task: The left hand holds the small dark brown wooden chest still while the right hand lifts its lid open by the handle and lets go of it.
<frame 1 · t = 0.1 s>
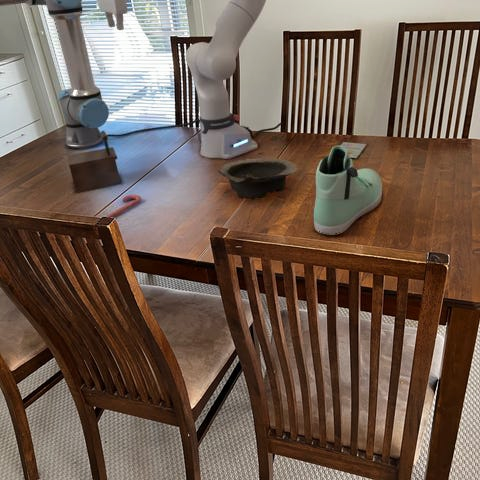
right hand: (116, 28, 149), 48 cm above the table, tool pointing down, fingers open, 8 cm apart
lid: (89, 147, 161), point 13 cm above the table, hinge at 0.0°
sneaker: (348, 208, 139), on the table
candy cane: (122, 209, 149), on the table
chest: (97, 182, 168), on the table
baking ingredient package: (349, 150, 177), on the table
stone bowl: (258, 188, 155), on the table
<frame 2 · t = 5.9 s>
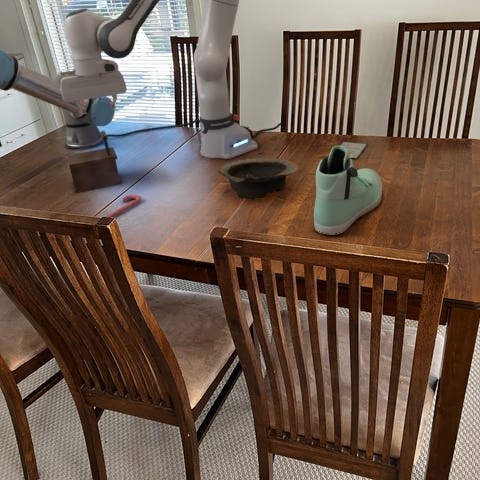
right hand: (98, 111, 156), 24 cm above the table, tool pointing down, fingers open, 8 cm apart
nothing on the table moved.
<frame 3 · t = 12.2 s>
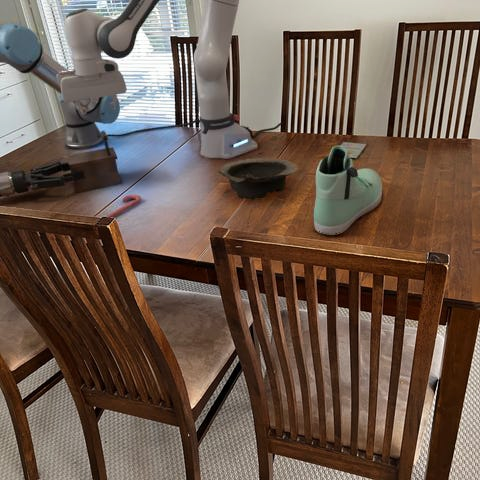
left hand: (82, 169, 164), 6 cm above the table, tool horizontal, fingers closed on chest, 9 cm apart
right hand: (98, 111, 156), 24 cm above the table, tool pointing down, fingers open, 8 cm apart
chest: (97, 183, 168), on the table, touching left hand
everything else where it was.
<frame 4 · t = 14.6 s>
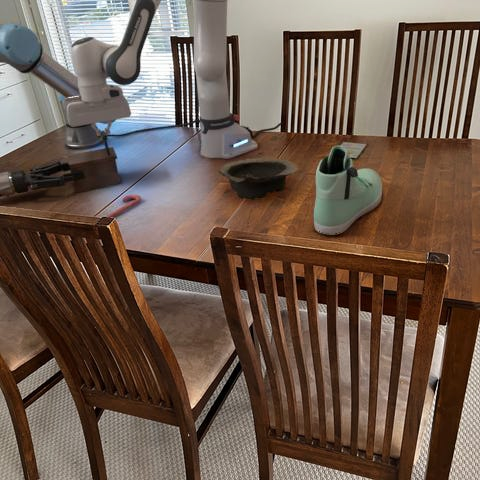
left hand: (82, 169, 164), 6 cm above the table, tool horizontal, fingers closed on chest, 9 cm apart
right hand: (103, 134, 161), 16 cm above the table, tool pointing down, fingers closed on lid
lid: (89, 147, 161), point 13 cm above the table, hinge at 0.3°, touching right hand
chest: (97, 183, 168), on the table, touching left hand
everything else where it was.
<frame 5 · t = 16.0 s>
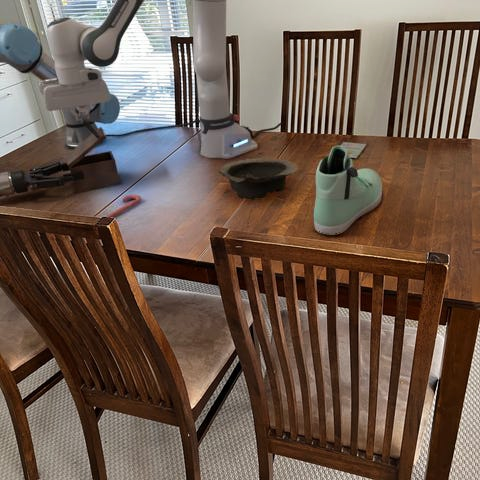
left hand: (82, 169, 163), 6 cm above the table, tool horizontal, fingers closed on chest, 9 cm apart
right hand: (83, 119, 156), 23 cm above the table, tool pointing down, fingers closed
lid: (78, 139, 158), point 16 cm above the table, hinge at 30.2°, touching right hand
chest: (96, 183, 168), on the table, touching left hand
everything else where it was.
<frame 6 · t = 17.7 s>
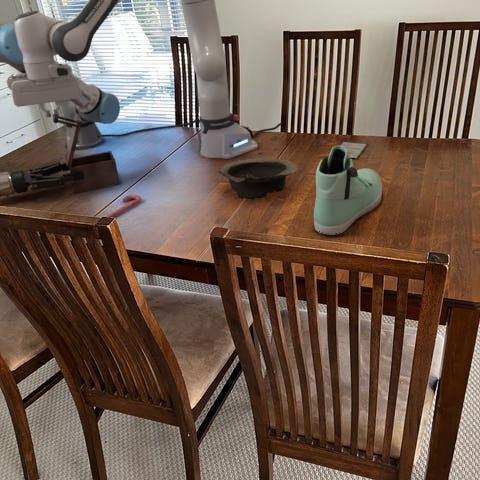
left hand: (82, 169, 163), 6 cm above the table, tool horizontal, fingers closed on chest, 9 cm apart
right hand: (53, 116, 152), 25 cm above the table, tool pointing down, fingers closed
lid: (62, 137, 156), point 18 cm above the table, hinge at 64.1°, touching right hand
chest: (96, 183, 168), on the table, touching left hand
everything else where it was.
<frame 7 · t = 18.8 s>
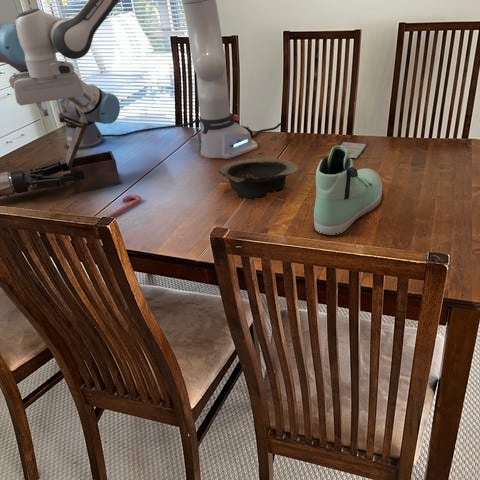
left hand: (82, 169, 164), 6 cm above the table, tool horizontal, fingers closed on chest, 9 cm apart
right hand: (56, 114, 152), 26 cm above the table, tool pointing down, fingers open, 5 cm apart
lid: (65, 136, 157), point 18 cm above the table, hinge at 57.4°
chest: (97, 183, 168), on the table, touching left hand
everything else where it was.
when the left hand's fingers open (6 cm above the table, at t = 22.0 s): chest stays where it is, on the table.
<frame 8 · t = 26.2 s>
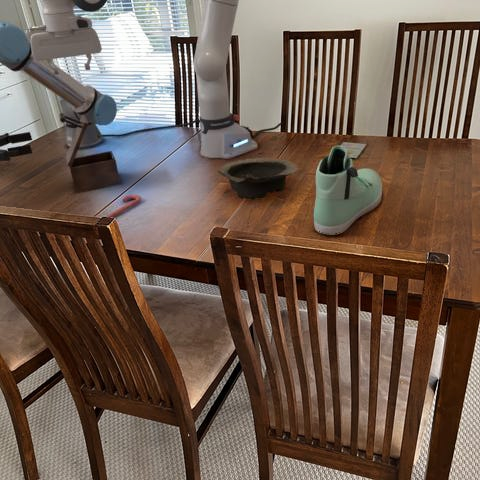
left hand: (31, 142, 154), 18 cm above the table, tool horizontal, fingers open, 13 cm apart
right hand: (72, 71, 148), 37 cm above the table, tool pointing down, fingers open, 8 cm apart
lid: (66, 136, 157), point 18 cm above the table, hinge at 56.9°
chest: (97, 183, 168), on the table
everything else where it was.
at the end: lid at +57° (first picture: +0°); the left hand is holding nothing; the right hand is holding nothing; chest tilted 0°; chest never tilted more than 1° during the clip; chest moved 0.0 cm from its start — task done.
